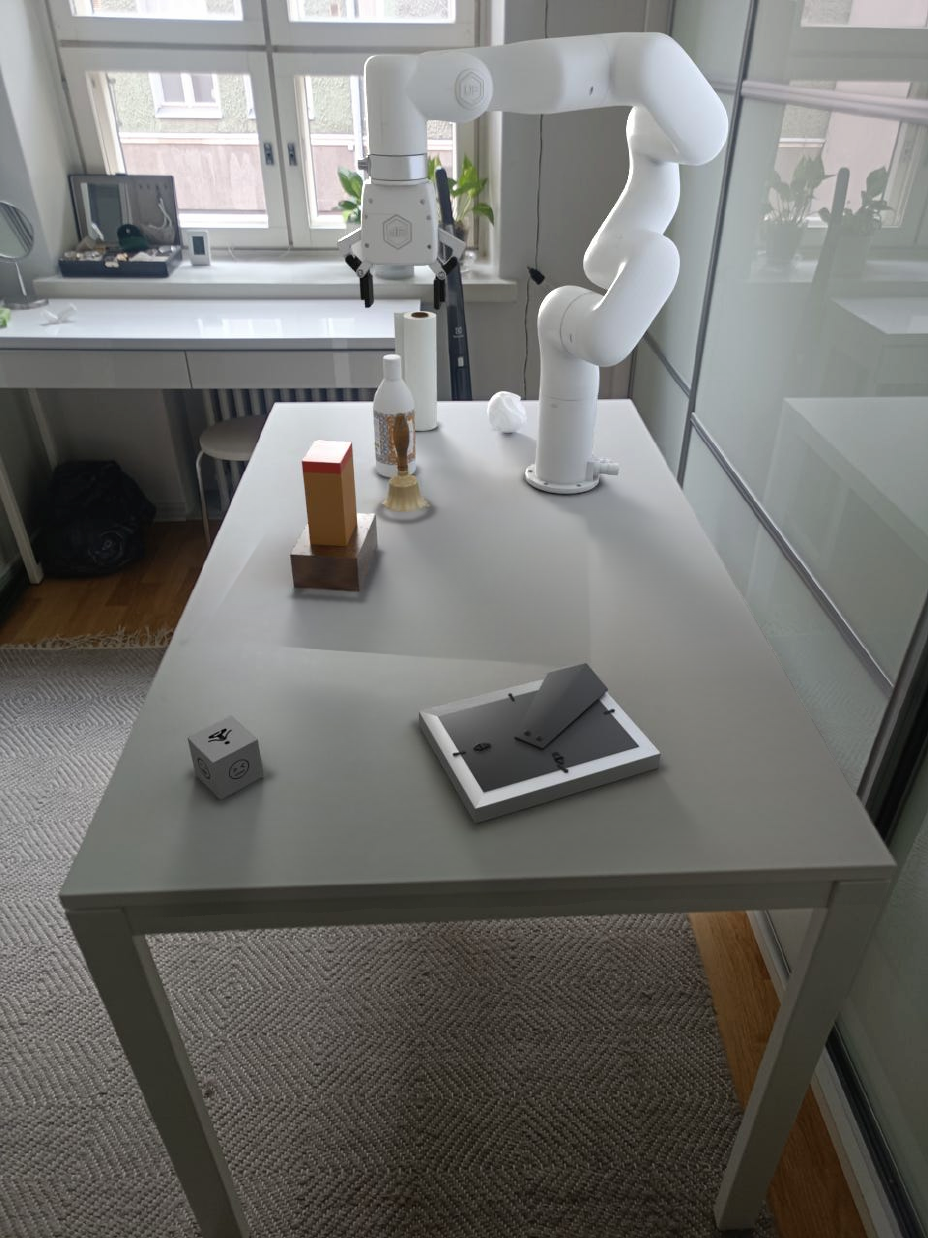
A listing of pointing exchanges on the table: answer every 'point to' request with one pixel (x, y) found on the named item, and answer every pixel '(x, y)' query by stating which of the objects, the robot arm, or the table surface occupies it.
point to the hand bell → (403, 473)
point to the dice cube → (226, 757)
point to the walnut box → (335, 559)
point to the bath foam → (392, 418)
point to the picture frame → (535, 742)
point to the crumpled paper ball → (506, 412)
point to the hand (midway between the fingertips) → (403, 306)
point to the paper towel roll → (418, 363)
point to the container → (330, 492)
